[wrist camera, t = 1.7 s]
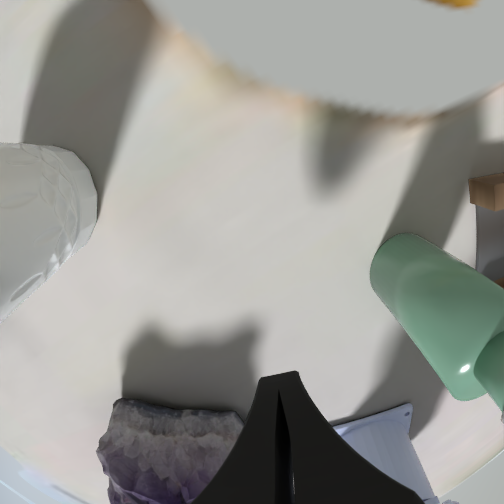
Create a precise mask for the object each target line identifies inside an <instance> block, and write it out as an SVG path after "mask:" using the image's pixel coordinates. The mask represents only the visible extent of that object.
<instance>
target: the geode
mask: <svg viewBox="0 0 504 504" xmlns="http://www.w3.org/2000/svg"><path fill="white" fill-rule="evenodd" d="M243 426H244V423H243V421H242V420H241V418H240V417H239V415H238V414H237V412H235V411H219V412H218V411H212V410H188V409H186V410H176V409H171V408H168V407H164V406H156V405H152V404H149V403H146V402H143V401H140V400H134V399H126V398H121V399H118V400H116V402H115V403H114V404H113V411H112V415H111V418H110V422H109V426H108V430H107V432H106V433H105V434H104V435H103V436H102V437H101V438H100V440H99V447H98V449H97V451H96V453H97V455H98V458H99V460H100V462H101V463H102V466H103V472H104V474H106V475H108V476H109V488H108V496H109V500H110V503H111V504H190V503H191V502H192V501H193V500H194V499H195V498H196V497H197V496H198V495H199V494H200V493H201V492H202V490H203V489H204V488H205V487H206V486H207V485H208V483H209V482H210V481H211V480H212V478H213V477H214V476H215V474H216V473H217V471H218V470H219V469H220V467H221V466H222V464H223V463H224V461H225V460H226V458H227V457H228V455H229V453H230V452H231V450H232V448H233V446H234V444H235V443H236V441H237V439H238V436H239V434H240V432H241V430H242V428H243Z"/></svg>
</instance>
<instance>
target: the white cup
mask: <svg viewBox="0 0 504 504" xmlns="http://www.w3.org/2000/svg"><path fill="white" fill-rule="evenodd" d="M96 222H97V192H96V189H95V186H94V183H93V180H92V177H91V174H90V171H89V169H88V168H87V167H86V165H85V164H84V163H83V162H82V161H81V160H80V159H79V158H78V157H77V155H76V154H75V153H74V152H72V151H69V150H66V149H63V148H59V147H56V146H39V145H34V144H25V143H0V324H1V323H2V322H3V321H4V320H5V319H6V318H7V317H8V316H9V315H10V314H11V313H12V312H13V311H14V310H15V309H16V308H17V307H18V306H19V305H20V304H21V303H22V302H24V301H25V300H26V299H27V298H28V297H29V296H30V295H31V294H32V293H33V292H35V291H36V290H37V289H38V288H39V287H40V286H42V285H43V284H44V283H45V282H46V281H47V280H48V279H49V278H50V277H51V276H52V275H53V274H54V273H55V272H57V271H58V270H59V269H60V267H61V265H62V264H63V263H64V262H65V261H66V260H67V259H68V258H70V257H71V256H72V255H73V254H75V253H76V252H77V251H78V250H80V249H81V248H82V247H83V246H85V245H86V244H87V242H88V240H89V238H90V235H91V233H92V231H93V229H94V226H95V224H96Z"/></svg>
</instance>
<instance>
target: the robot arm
mask: <svg viewBox="0 0 504 504" xmlns="http://www.w3.org/2000/svg"><path fill="white" fill-rule="evenodd" d="M412 411H413V406H412V404H410V403H408V404H405V405H402V406H399V407H396V408H394V409H391V410H388V411H385V412H382V413H379V414H376V415H373V416H369V417H366V418H363V419H360V420H356V421H353V422H349V423H346V424H342V425H338V426H334V427H332V426H331V425H330V424H329V423H328V421H327V420H326V419H325V418H324V416H323V415H322V414H321V412H320V411H319V410H318V408H317V407H316V405H315V404H314V402H313V401H312V399H311V398H310V396H309V395H308V393H307V391H306V389H305V387H304V385H303V383H302V381H301V379H300V376H299V372H297V371H291V372H286V373H281V374H276V375H272V376H267V377H261V378H260V380H259V382H258V386H257V390H256V394H255V397H254V400H253V403H252V406H251V409H250V411H249V414H248V417H247V419H246V422H245V424H244V426H243V428H242V430H241V432H240V434H239V436H238V439H237V441H236V443H235V444H234V446H233V448H232V450H231V452H230V453H229V455H228V457H227V458H226V460H225V461H224V463H223V464H222V466H221V467H220V469H219V470H218V471H217V473H216V474H215V476H214V477H213V478H212V480H211V481H210V482H209V483H208V485H207V486H206V487H205V488H204V489H203V490H202V492H201V493H200V494H199V495H198V496H197V497H196V498H195V499H194V500H193V501H192V502H191V503H190V504H440V503H439V500H438V498H437V496H435V495H434V493H433V490H432V488H431V486H430V483H429V481H428V479H427V476H426V474H425V472H424V469H423V467H422V465H421V463H420V460H419V458H418V456H417V454H416V451H415V449H414V447H413V445H412V443H411V441H410V438H409V436H408V434H409V429H410V423H411V417H412ZM293 476H294V484H293ZM294 493H295V495H294ZM442 504H459V503H458V502H455V501H451V500H447V501H445V502H443V503H442Z"/></svg>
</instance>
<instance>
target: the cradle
mask: <svg viewBox="0 0 504 504" xmlns="http://www.w3.org/2000/svg"><path fill="white" fill-rule="evenodd" d="M469 191H470V203H472V204H475V205H476V222H477V253H476V271H478V272H479V273H481V274H483V275H484V276H486V277H487V278H489V279H490V280H492V281H493V282H494V283H496V284H497V285H499V286H500V287H502V288H503V289H504V173H499V174H494V175H489V176H483V177H478V178H473V179H469Z"/></svg>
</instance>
